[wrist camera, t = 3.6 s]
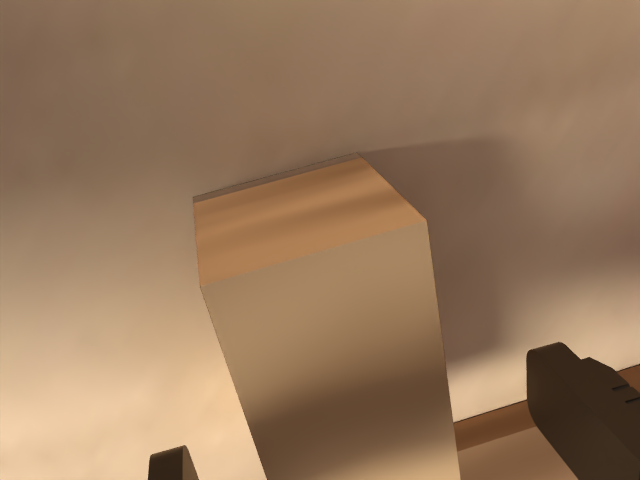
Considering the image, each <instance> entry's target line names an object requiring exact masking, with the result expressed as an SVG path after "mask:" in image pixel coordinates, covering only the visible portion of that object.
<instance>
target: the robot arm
mask: <svg viewBox="0 0 640 480" xmlns="http://www.w3.org/2000/svg"><path fill="white" fill-rule="evenodd" d="M526 362H527V404H528V409H529V412H530V415H531V417H532V419H533V421H534V423H535V425H536V426H537V428H538V429H539V430H540V432H541V433H542V434H543V435H544V437H545V438H546V439H547V440H548V442H549V443H550V444H551V446H552V447H553V448H554V449H555V451H556V452H557V453H558V454H559V456H560V457H561V458H562V459H563V461H564V462H565V463H566V465H567V466H568V467H569V468H570V470H571V471H572V472H573V473H574V475H575V476H576V477H577V479H578V480H640V393H639V392H638V391H637V390H636V389H635V388H634V387H630V385H629V383H628V382H627V381H626V380H625V379H624V378H623V377H621V376H620V375H619V374H618V373H617V372H616V371H615V370H614V369H613V368H611V367H609V366H607V365H605V364H602V363H600V362H598V361H596V360H594V359H592V358H590V357H588V358H585V359H580V358H579V357H578V356H577V355H576V354H575V353H573V352H572V351H571V350H570V349H569V348H568V347H567V346H566V345H565V344H563V343H561V342H557V343H553V344H550V345H546V346H543V347H539V348H535V349H532V350H529V351H528V353H527V358H526ZM148 480H199V479H198V476H197V473H196V470H195V467H194V465H193V462H192V459H191V456H190V453H189V451H188V449H187V447H186V446H185V445H184V446H180V447H177V448H173V449H169V450H166V451H162V452H159V453H155V454H152V455H151V456H150V461H149V473H148Z"/></svg>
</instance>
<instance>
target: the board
mask: <svg viewBox="0 0 640 480" xmlns="http://www.w3.org/2000/svg"><path fill="white" fill-rule="evenodd" d="M617 373H618V374H619V375H620V376H621V377H623V378H624V379H625V380H626V381H627V382H628V383H629V385H630V387H634V388H635V389H636V390H637V391H638V392H639V393H640V365H638V366H635V367H632V368H629V369H625V370H622V371H619V372H617ZM453 425H454V433H455V441H456V448H457V456H458V464H459V471H460V479H461V480H578V479H577V477H576V476H575V475H574V473H573V472H572V471H571V470H570V468H569V467H568V466H567V465H566V463H565V462H564V461H563V459H562V458H561V457H560V456H559V454H558V453H557V452H556V451H555V449H554V448H553V447H552V446H551V444H550V443H549V442H548V440H547V439H546V438H545V437H544V435H543V434H542V433H541V432H540V430H539V429H538V428H537V426H536V425H535V423H534V421H533V419H532V417H531V415H530V412H529V409H528V404H527V401H524V402H520V403H517V404H514V405H511V406H508V407H504V408H501V409H498V410H495V411H492V412H489V413H485V414H482V415H479V416H476V417H473V418H470V419H466V420H463V421H460V422H457V423H454V424H453Z"/></svg>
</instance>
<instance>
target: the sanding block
mask: <svg viewBox="0 0 640 480" xmlns="http://www.w3.org/2000/svg"><path fill="white" fill-rule="evenodd" d="M193 204H194V218H195V231H196V244H197V257H198V270H199V283H200V288H201V291H202V294H203V297H204V300H205V303H206V306H207V308H208V311H209V314H210V317H211V320H212V323H213V326H214V328H215V331H216V334H217V337H218V340H219V343H220V346H221V349H222V351H223V354H224V357H225V360H226V363H227V366H228V369H229V372H230V374H231V377H232V380H233V383H234V386H235V389H236V392H237V395H238V397H239V400H240V403H241V406H242V409H243V412H244V415H245V418H246V420H247V423H248V426H249V429H250V432H251V435H252V438H253V440H254V443H255V446H256V449H257V452H258V455H259V458H260V461H261V463H262V466H263V469H264V472H265V475H266V478H267V480H461V479H460V471H459V464H458V456H457V448H456V441H455V433H454V425H453V418H452V410H451V402H450V395H449V387H448V379H447V372H446V364H445V356H444V349H443V341H442V333H441V326H440V318H439V310H438V303H437V295H436V287H435V280H434V272H433V264H432V257H431V249H430V241H429V234H428V226H427V220H426V219H425V218H424V217H423V216H422V215H421V214H420V213H419V212H418V211H417V210H416V209H415V208H414V207H413V206H412V205H410V204H409V203H408V202H407V201H406V200H405V199H404V198H403V197H402V196H401V195H400V194H399V193H398V192H397V191H396V190H395V189H394V188H393V187H392V186H391V185H390V184H389V183H388V182H387V181H386V180H385V179H384V178H383V177H382V176H381V175H380V174H379V173H378V172H376V171H375V170H374V169H373V168H372V167H371V166H370V165H369V164H368V163H367V162H366V161H365V160H364V159H363V158H362V157H361V156H360V155H359V154H358V153H353V154H350V155H346V156H342V157H339V158H335V159H331V160H328V161H324V162H320V163H317V164H313V165H309V166H306V167H302V168H298V169H295V170H291V171H287V172H284V173H280V174H276V175H273V176H269V177H265V178H261V179H258V180H254V181H250V182H247V183H243V184H239V185H236V186H232V187H228V188H225V189H221V190H217V191H214V192H210V193H206V194H203V195H199V196H195V197H193Z"/></svg>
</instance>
